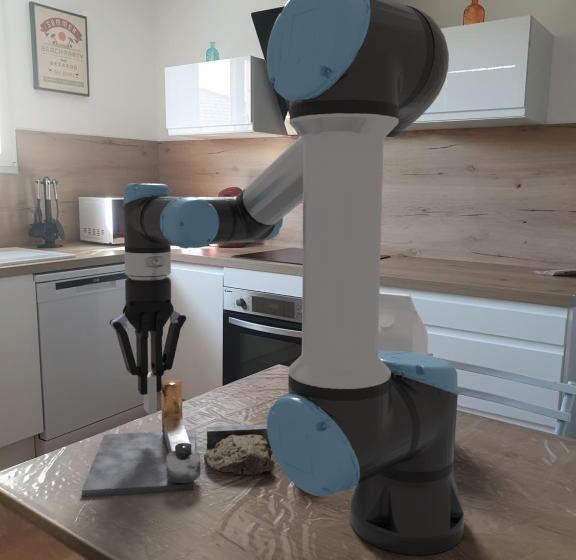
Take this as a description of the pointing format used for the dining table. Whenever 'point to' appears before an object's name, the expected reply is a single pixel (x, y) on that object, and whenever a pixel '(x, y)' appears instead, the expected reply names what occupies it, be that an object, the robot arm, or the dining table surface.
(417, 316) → the milk
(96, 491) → the cracker base
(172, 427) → the lever
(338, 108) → the robot arm
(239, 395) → the dining table surface
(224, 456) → the rock
